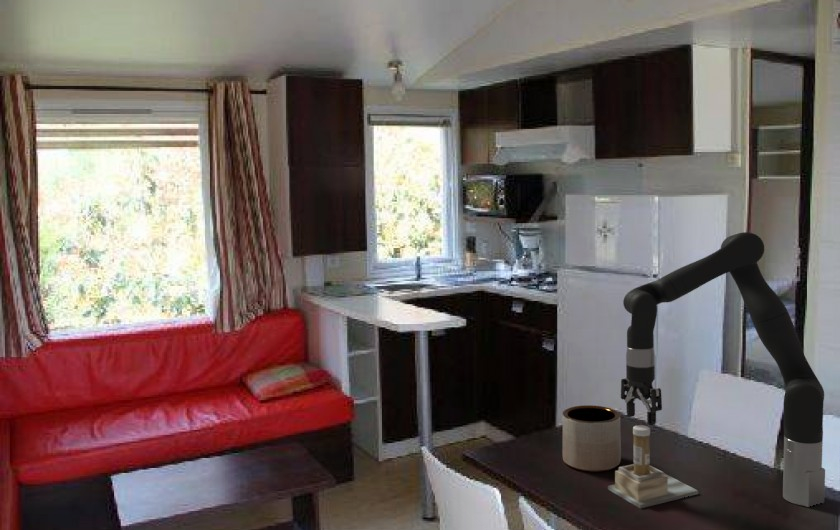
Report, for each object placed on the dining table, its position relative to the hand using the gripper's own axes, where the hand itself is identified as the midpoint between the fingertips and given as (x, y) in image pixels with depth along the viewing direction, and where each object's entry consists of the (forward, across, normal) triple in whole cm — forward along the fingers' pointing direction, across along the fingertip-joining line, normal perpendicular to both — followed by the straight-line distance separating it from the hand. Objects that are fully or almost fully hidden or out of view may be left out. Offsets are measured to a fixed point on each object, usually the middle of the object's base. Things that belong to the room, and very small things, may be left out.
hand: (640, 420), depth 208 cm
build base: (+22, 0, -4) cm, 22 cm away
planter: (+22, +26, -2) cm, 34 cm away
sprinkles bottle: (+16, 0, 0) cm, 16 cm away
